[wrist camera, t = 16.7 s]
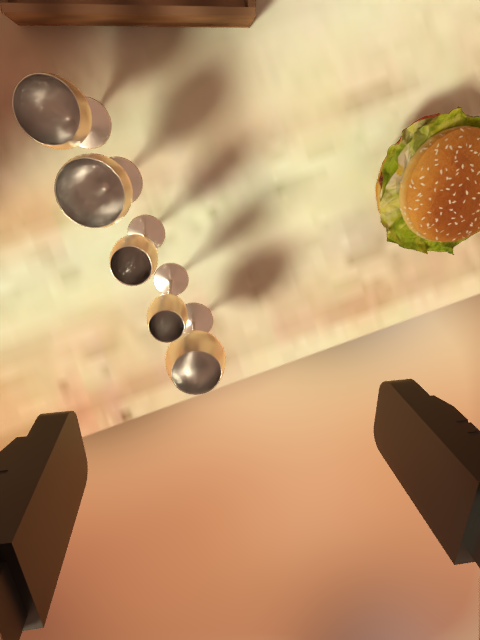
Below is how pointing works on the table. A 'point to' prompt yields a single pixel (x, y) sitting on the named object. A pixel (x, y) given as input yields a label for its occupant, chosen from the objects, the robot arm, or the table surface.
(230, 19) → the serving tray
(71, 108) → the goblet set
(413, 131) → the food
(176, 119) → the table surface
